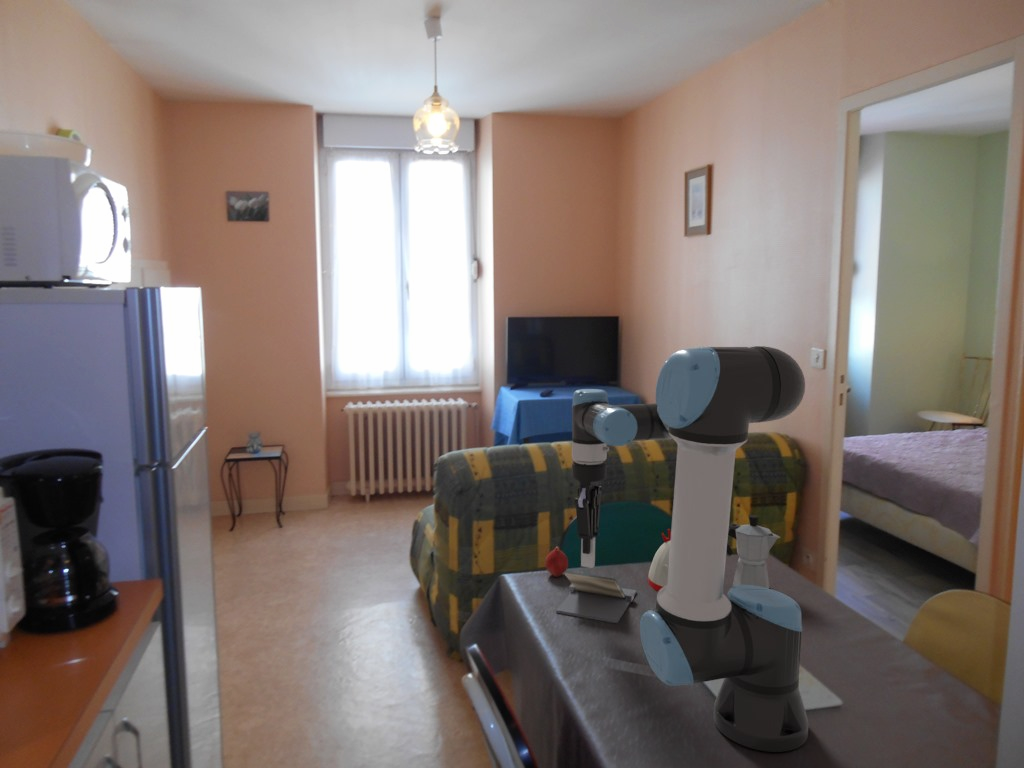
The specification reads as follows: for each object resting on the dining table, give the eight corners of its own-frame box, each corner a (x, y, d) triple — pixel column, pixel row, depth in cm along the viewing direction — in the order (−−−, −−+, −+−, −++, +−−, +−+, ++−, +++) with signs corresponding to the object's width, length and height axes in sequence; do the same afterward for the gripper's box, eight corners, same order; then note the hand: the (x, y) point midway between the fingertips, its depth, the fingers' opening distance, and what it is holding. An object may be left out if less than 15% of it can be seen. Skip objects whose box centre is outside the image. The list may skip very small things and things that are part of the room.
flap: (626, 595, 167) (625, 599, 167) (578, 587, 172) (577, 591, 171) (615, 578, 157) (615, 582, 157) (564, 570, 162) (563, 574, 161)
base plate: (617, 623, 155) (617, 620, 155) (556, 612, 161) (556, 610, 161) (636, 592, 172) (636, 590, 172) (580, 583, 177) (580, 581, 177)
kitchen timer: (703, 599, 168) (705, 537, 167) (644, 591, 173) (645, 531, 171) (707, 578, 181) (709, 520, 180) (652, 571, 186) (653, 515, 184)
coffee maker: (782, 587, 175) (785, 515, 173) (774, 599, 168) (777, 524, 166) (721, 574, 183) (723, 506, 181) (710, 586, 176) (712, 514, 174)
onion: (541, 574, 184) (542, 544, 183) (562, 571, 185) (563, 541, 184) (549, 582, 178) (550, 551, 177) (571, 580, 180) (571, 549, 179)
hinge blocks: (631, 602, 165) (631, 596, 165) (569, 592, 171) (569, 586, 171) (633, 598, 167) (633, 592, 167) (572, 588, 173) (572, 582, 173)
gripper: (597, 468, 148) (596, 579, 150) (614, 456, 160) (612, 558, 162) (563, 465, 151) (562, 573, 153) (581, 453, 162) (580, 554, 165)
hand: (587, 565), depth 158 cm, fingers closed
